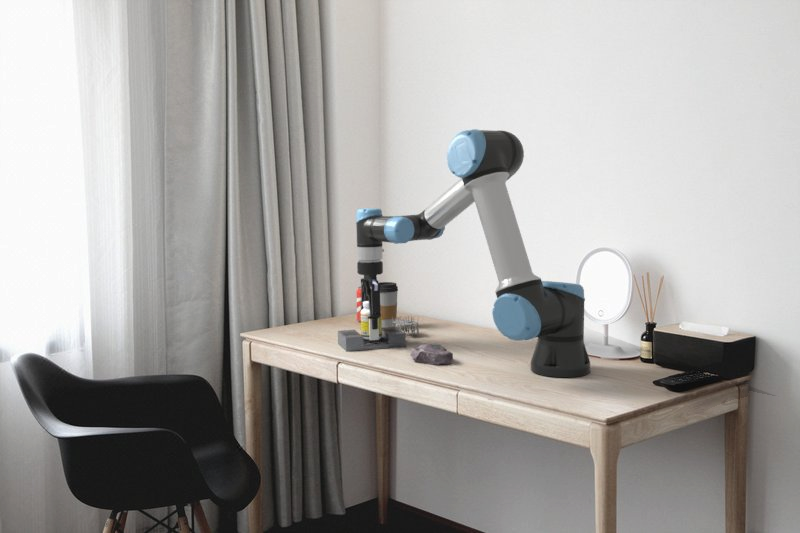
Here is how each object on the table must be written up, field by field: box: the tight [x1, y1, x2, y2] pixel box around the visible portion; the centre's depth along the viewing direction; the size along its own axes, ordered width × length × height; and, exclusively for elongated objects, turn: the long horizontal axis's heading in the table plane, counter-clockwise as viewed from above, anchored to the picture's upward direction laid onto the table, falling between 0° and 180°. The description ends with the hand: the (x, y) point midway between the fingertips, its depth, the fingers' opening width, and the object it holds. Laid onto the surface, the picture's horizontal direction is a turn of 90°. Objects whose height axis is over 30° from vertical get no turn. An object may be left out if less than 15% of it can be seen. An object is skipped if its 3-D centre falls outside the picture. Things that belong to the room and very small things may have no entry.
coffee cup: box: [379, 281, 399, 328], centre depth 272 cm, size 8×8×15 cm
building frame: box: [392, 316, 420, 338], centre depth 261 cm, size 6×8×6 cm
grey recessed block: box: [337, 326, 407, 352], centre depth 248 cm, size 11×18×4 cm, turn 107°
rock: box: [410, 343, 454, 366], centre depth 226 cm, size 8×11×5 cm
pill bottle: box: [360, 301, 382, 340], centre depth 248 cm, size 6×6×11 cm
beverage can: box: [355, 286, 361, 323], centre depth 286 cm, size 6×6×12 cm
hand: (371, 337), depth 248 cm, fingers closed on pill bottle, 6 cm apart
